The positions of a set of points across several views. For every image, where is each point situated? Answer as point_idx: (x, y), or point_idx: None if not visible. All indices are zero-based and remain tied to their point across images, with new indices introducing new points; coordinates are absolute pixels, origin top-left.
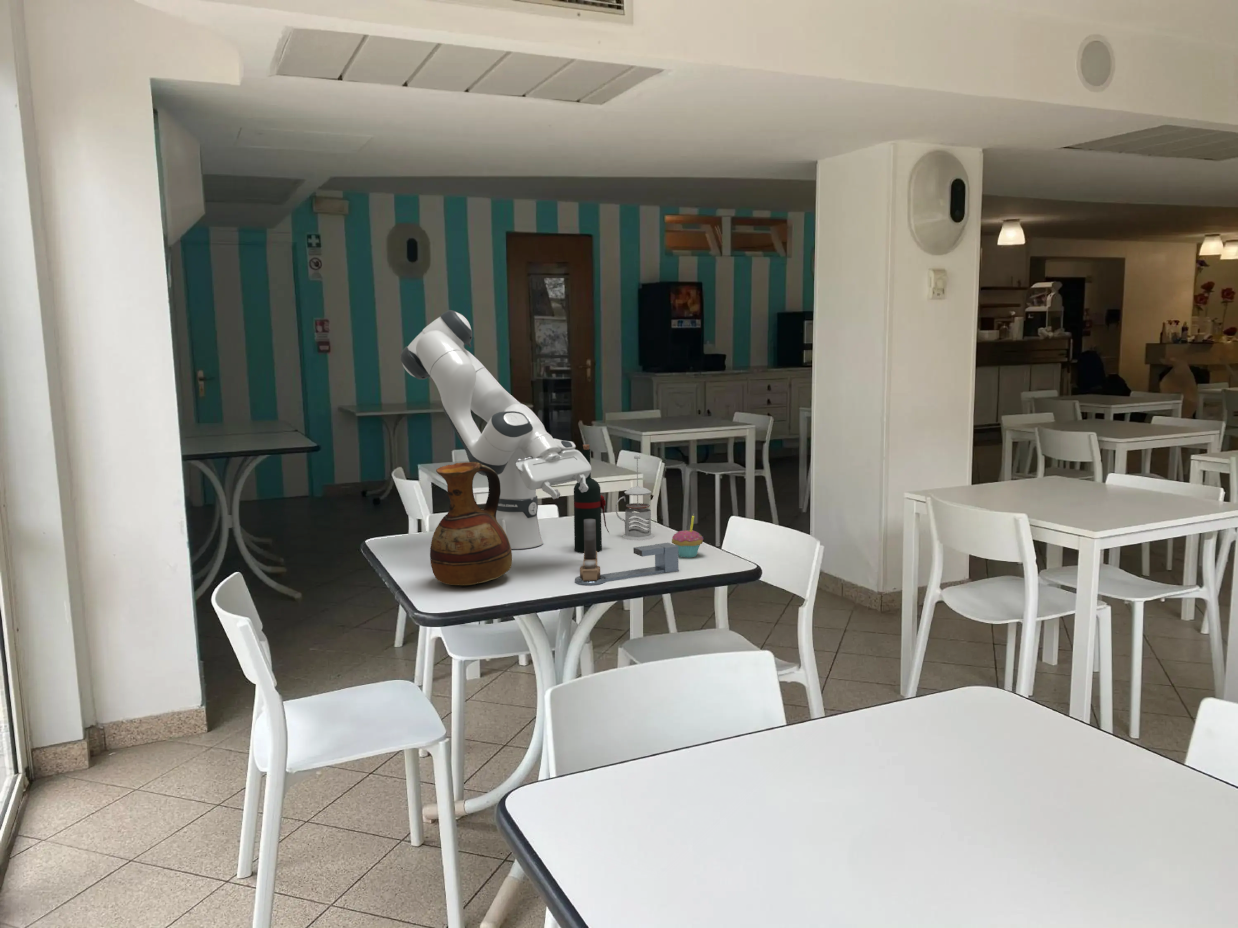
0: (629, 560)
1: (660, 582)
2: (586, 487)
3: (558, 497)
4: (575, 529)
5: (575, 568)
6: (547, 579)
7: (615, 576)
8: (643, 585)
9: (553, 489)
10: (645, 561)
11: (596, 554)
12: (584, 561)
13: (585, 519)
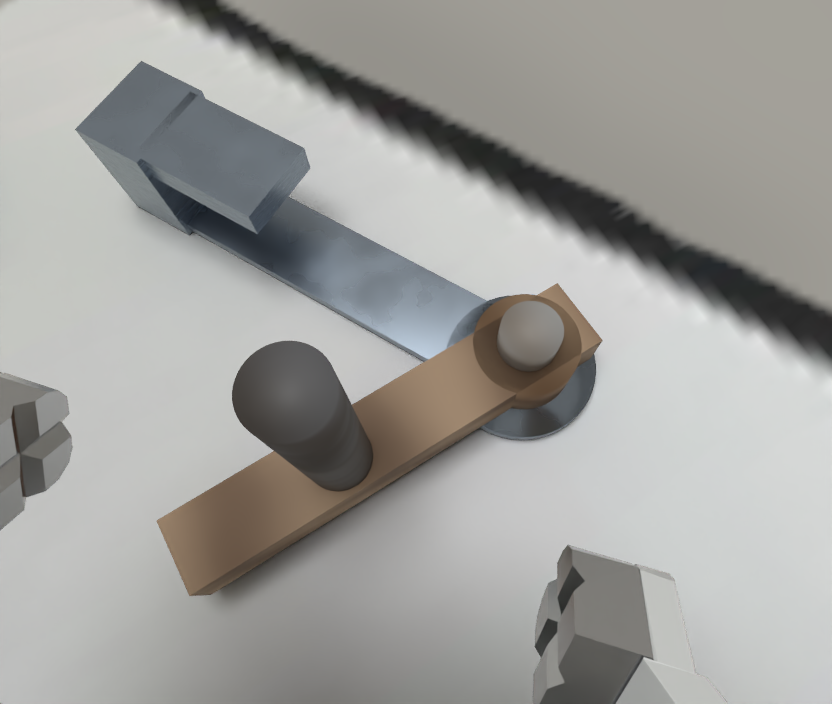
0: None
1: (389, 124)
2: (5, 374)
3: (555, 590)
4: None
5: (324, 585)
6: None
7: (427, 285)
8: (461, 154)
9: (670, 672)
10: (62, 337)
11: (241, 475)
12: (555, 350)
13: (283, 431)
